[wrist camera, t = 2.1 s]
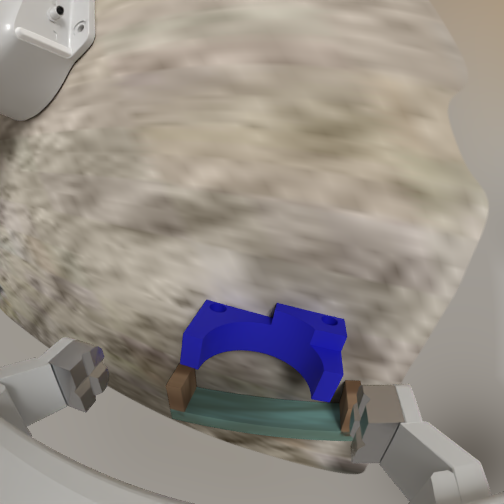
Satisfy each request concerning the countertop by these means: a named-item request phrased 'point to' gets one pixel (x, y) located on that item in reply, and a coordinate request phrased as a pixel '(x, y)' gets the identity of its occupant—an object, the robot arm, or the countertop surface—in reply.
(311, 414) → the rail
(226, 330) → the cable clip
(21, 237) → the countertop surface
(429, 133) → the countertop surface
